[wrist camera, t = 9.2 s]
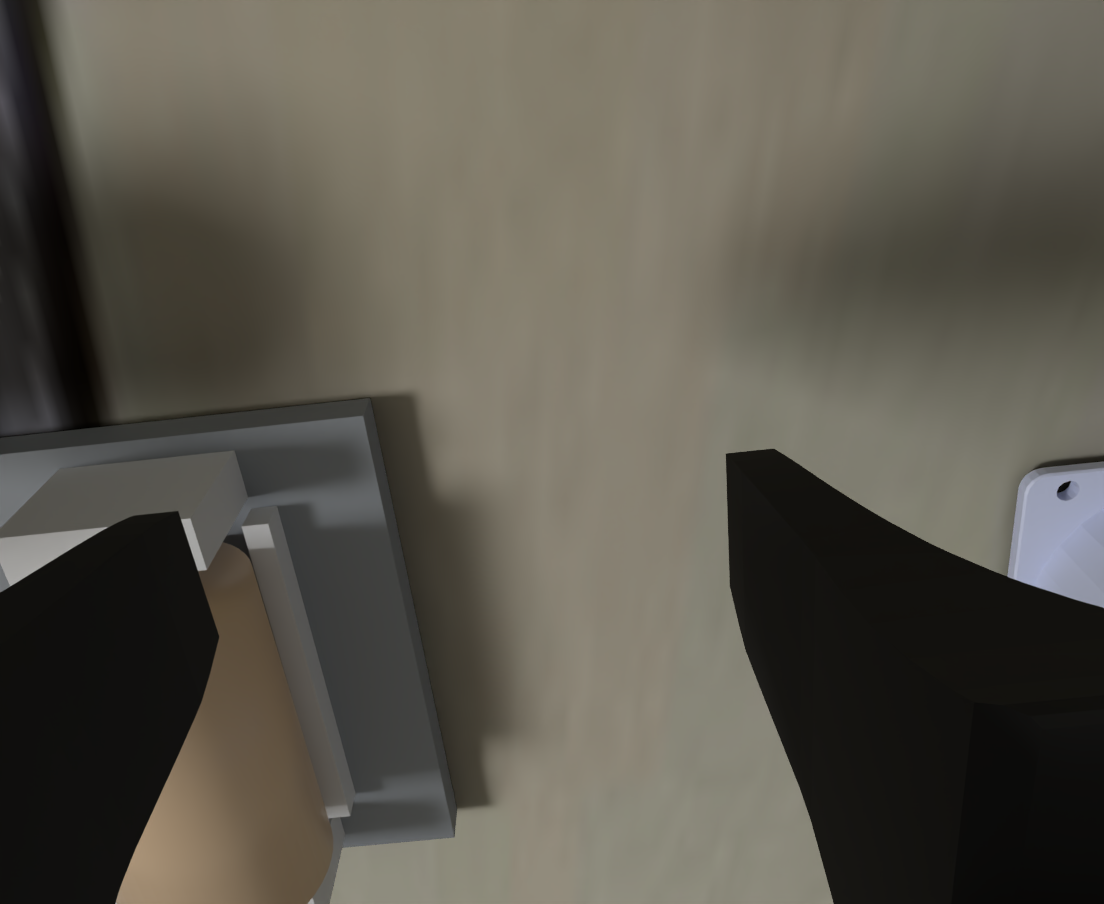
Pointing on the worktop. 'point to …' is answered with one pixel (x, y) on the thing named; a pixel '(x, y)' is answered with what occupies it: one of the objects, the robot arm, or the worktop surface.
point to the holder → (273, 579)
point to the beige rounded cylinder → (236, 775)
